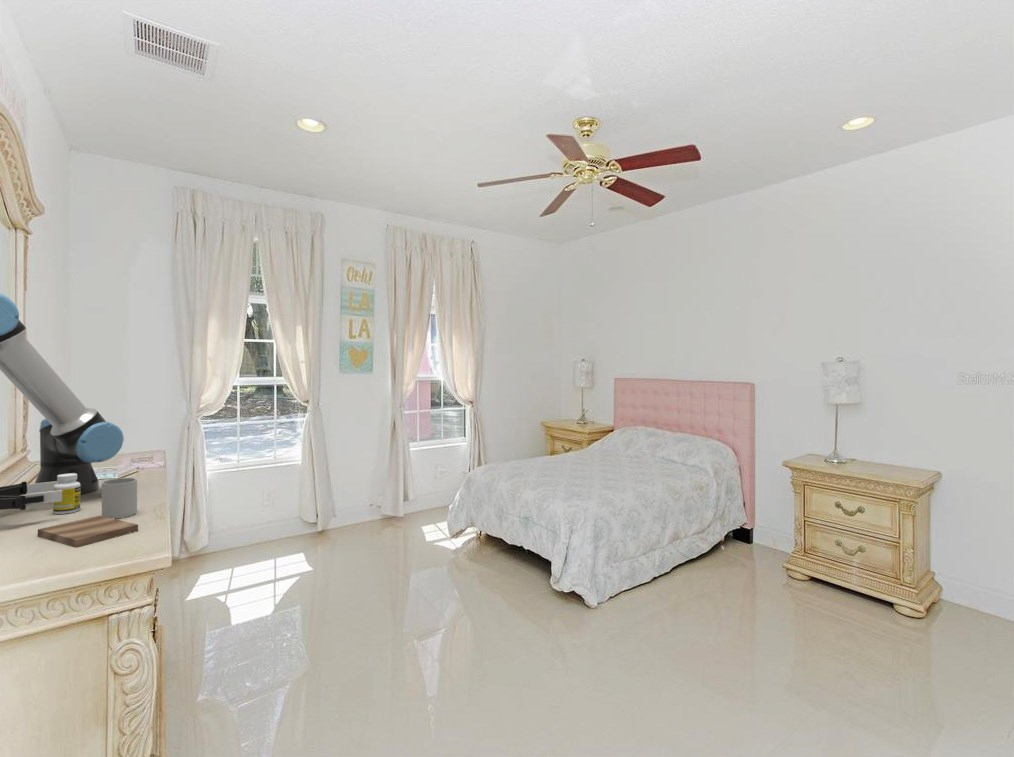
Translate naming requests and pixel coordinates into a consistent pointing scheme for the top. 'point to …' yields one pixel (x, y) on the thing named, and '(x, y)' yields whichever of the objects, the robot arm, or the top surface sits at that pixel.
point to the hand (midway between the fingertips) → (61, 490)
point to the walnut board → (87, 530)
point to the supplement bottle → (67, 494)
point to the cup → (119, 497)
